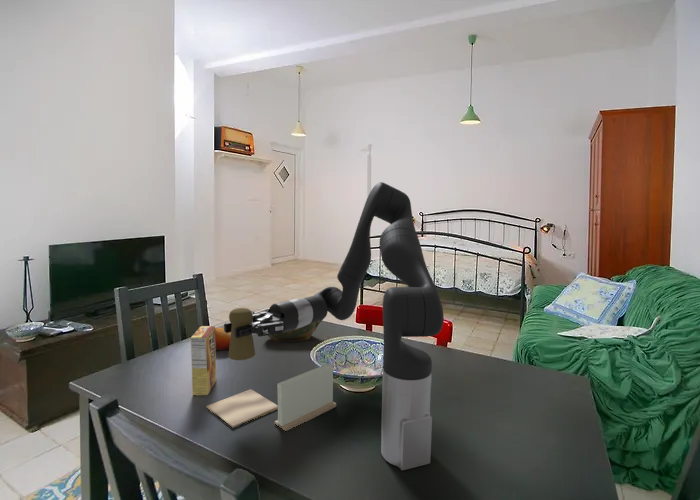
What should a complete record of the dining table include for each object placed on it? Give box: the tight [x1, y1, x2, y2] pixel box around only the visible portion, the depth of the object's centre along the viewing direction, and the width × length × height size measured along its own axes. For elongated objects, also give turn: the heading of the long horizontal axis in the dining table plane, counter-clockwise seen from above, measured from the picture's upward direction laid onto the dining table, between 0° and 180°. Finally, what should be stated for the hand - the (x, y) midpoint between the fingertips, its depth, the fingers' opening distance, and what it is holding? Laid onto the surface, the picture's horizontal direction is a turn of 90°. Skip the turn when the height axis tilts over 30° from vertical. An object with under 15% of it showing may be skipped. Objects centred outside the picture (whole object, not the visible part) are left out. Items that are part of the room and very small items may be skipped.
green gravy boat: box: [266, 320, 323, 343], centre depth 142 cm, size 13×20×10 cm, turn 74°
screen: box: [274, 363, 337, 432], centre depth 92 cm, size 15×4×10 cm, turn 136°
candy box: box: [190, 325, 217, 396], centre depth 104 cm, size 9×4×15 cm, turn 6°
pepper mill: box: [228, 307, 256, 361], centre depth 93 cm, size 6×6×11 cm
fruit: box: [215, 326, 231, 351], centre depth 132 cm, size 8×8×8 cm
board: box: [206, 388, 278, 428], centre depth 95 cm, size 12×12×1 cm
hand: (230, 330), depth 90 cm, fingers closed on pepper mill, 4 cm apart
